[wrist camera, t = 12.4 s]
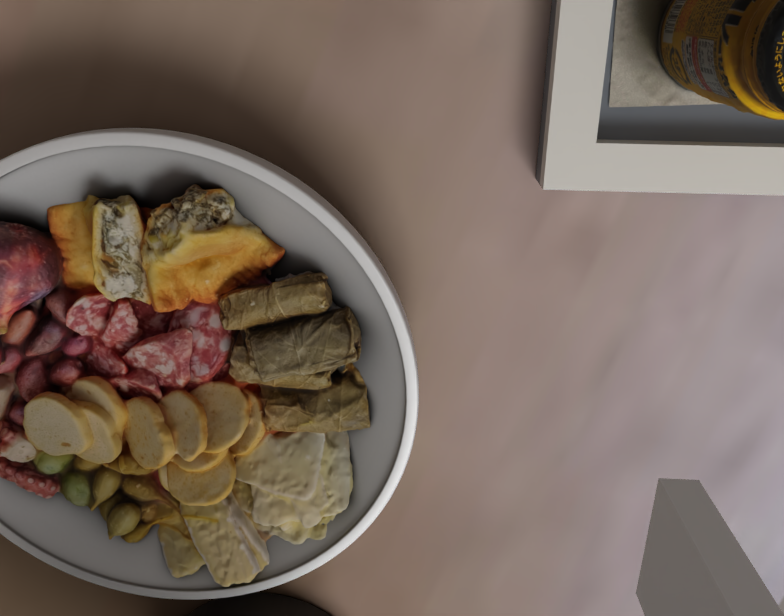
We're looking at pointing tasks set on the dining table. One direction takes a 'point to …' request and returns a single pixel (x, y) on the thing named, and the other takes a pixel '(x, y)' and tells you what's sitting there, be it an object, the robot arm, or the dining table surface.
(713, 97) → the condiment
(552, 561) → the dining table surface
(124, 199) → the bowl
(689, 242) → the dining table surface
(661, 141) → the pocket plate
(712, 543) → the robot arm
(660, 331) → the dining table surface
